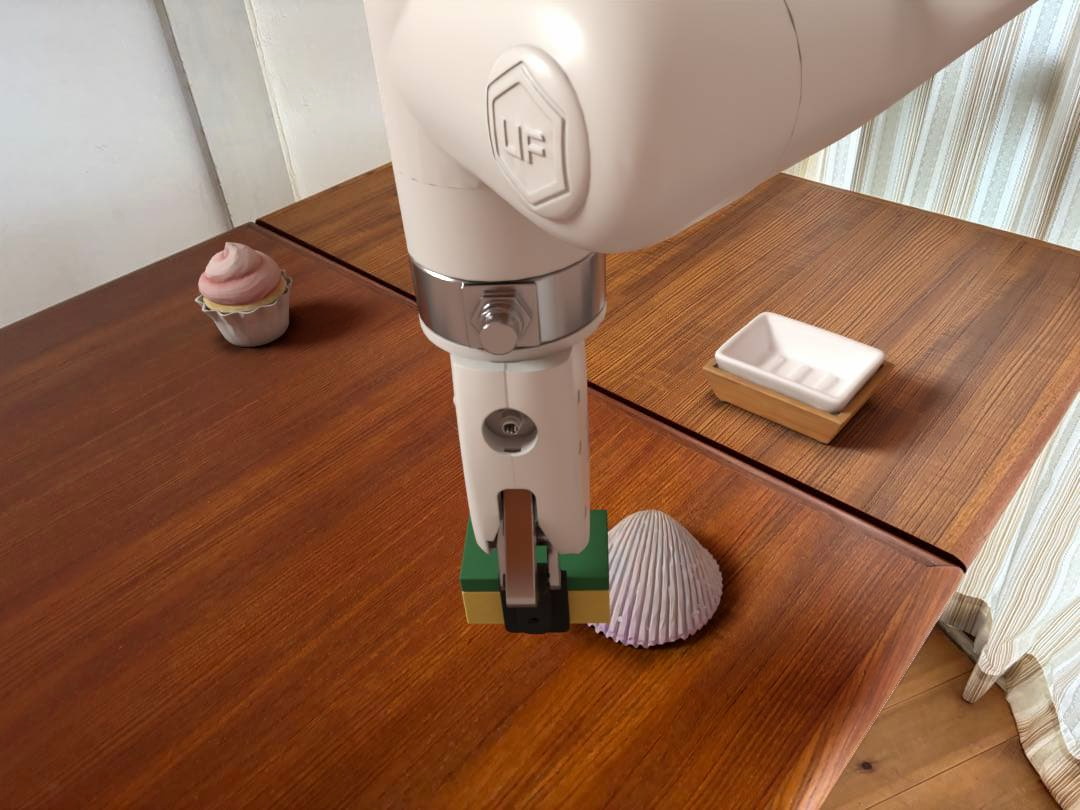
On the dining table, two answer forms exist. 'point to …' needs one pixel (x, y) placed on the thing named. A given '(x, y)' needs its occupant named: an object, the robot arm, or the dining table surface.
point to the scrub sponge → (582, 569)
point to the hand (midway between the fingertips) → (540, 583)
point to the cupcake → (245, 295)
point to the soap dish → (796, 374)
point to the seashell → (658, 581)
